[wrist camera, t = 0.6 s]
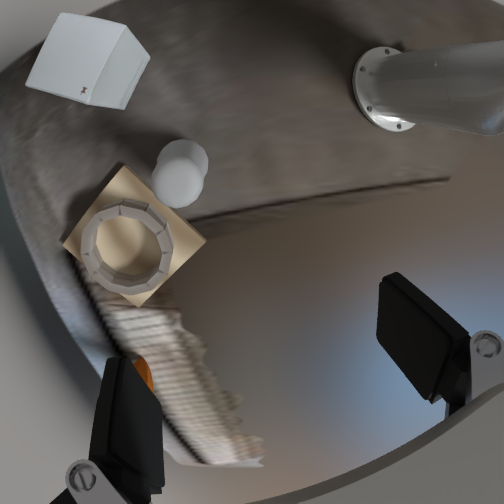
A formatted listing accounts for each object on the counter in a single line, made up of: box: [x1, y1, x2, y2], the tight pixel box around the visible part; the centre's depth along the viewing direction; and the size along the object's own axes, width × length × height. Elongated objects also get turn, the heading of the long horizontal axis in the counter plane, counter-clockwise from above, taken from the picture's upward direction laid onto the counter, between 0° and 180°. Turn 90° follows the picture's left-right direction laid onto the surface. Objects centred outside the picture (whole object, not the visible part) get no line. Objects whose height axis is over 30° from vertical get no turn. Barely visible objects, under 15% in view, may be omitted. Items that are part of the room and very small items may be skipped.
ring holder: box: [63, 164, 206, 308], centre depth 34 cm, size 14×14×4 cm
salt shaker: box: [151, 139, 208, 208], centre depth 27 cm, size 6×6×13 cm
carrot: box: [133, 358, 153, 392], centre depth 38 cm, size 5×5×15 cm
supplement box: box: [25, 12, 150, 110], centre depth 21 cm, size 7×7×13 cm
